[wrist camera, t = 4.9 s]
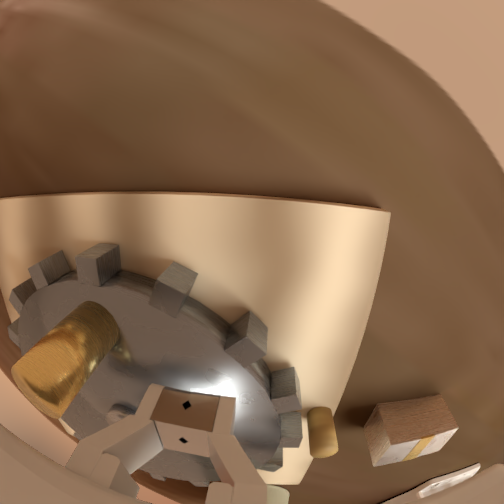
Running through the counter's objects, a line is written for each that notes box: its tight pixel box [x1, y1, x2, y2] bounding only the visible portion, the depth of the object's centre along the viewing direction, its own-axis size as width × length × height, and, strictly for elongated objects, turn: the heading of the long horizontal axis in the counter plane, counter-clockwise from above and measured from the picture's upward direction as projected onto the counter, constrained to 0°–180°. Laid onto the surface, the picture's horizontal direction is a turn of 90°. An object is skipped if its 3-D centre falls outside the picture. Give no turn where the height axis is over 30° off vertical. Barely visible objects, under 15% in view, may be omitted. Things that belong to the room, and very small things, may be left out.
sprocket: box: [8, 243, 303, 487], centre depth 11 cm, size 20×20×7 cm
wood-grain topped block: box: [363, 394, 459, 467], centre depth 14 cm, size 6×3×4 cm, turn 86°
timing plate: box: [0, 191, 391, 484], centre depth 14 cm, size 25×25×4 cm
